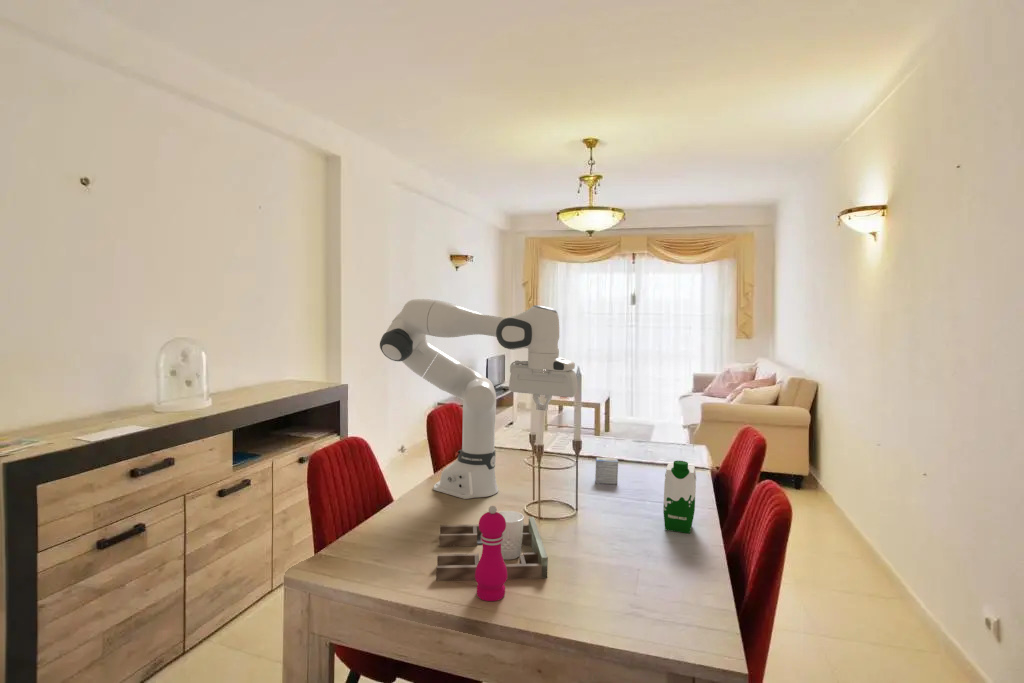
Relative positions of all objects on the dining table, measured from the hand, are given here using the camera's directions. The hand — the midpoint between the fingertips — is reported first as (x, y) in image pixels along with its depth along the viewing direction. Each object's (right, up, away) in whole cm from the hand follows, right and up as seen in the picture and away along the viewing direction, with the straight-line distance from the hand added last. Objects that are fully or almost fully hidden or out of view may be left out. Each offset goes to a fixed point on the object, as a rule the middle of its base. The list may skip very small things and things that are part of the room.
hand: (542, 409), depth 160 cm
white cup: (-10, -35, -17) cm, 40 cm away
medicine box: (+26, -32, +44) cm, 60 cm away
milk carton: (+40, -35, +3) cm, 54 cm away
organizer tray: (-14, -35, -18) cm, 42 cm away
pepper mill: (-13, -37, -37) cm, 54 cm away
